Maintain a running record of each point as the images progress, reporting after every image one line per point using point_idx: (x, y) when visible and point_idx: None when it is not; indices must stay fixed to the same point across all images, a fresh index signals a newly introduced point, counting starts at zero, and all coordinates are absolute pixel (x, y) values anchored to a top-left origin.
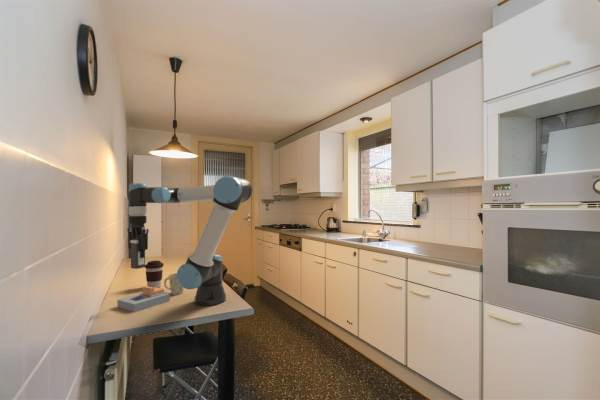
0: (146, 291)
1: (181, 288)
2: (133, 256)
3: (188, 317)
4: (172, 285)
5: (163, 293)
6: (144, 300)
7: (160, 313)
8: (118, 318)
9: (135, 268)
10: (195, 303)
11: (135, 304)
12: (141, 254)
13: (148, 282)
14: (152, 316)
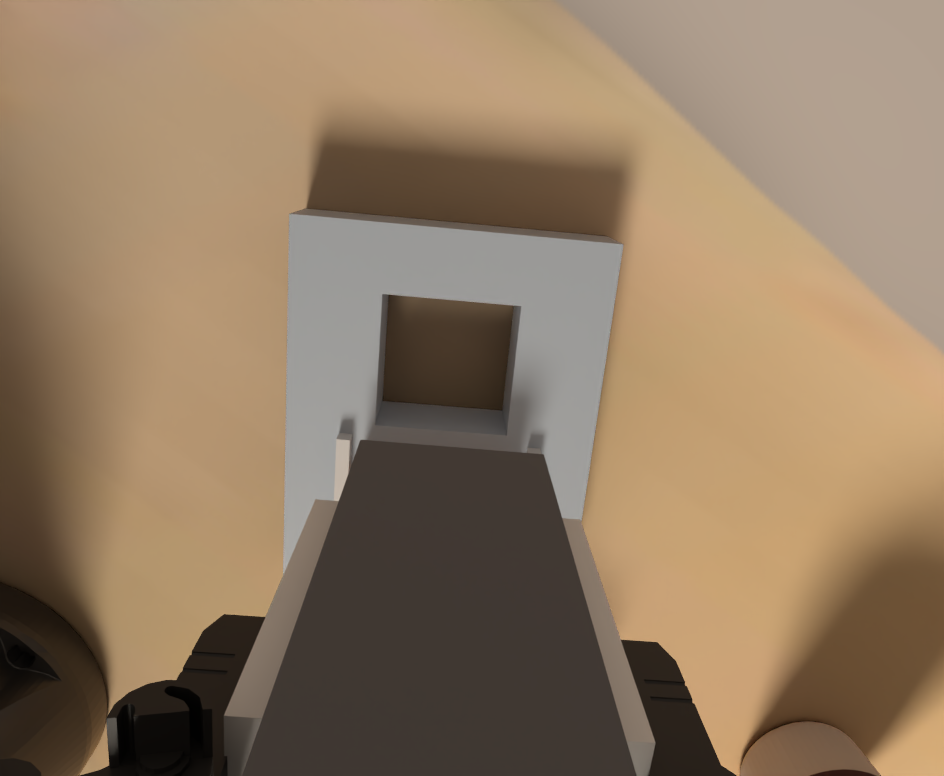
0: None
1: None
2: (454, 577)
3: None
4: None
5: None
6: (318, 344)
7: (55, 286)
8: (285, 15)
9: (386, 443)
10: (6, 586)
11: (289, 219)
12: (185, 677)
13: (838, 763)
14: (44, 198)
